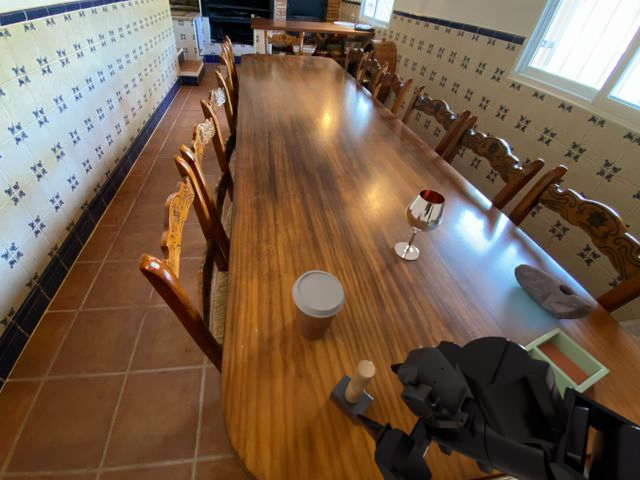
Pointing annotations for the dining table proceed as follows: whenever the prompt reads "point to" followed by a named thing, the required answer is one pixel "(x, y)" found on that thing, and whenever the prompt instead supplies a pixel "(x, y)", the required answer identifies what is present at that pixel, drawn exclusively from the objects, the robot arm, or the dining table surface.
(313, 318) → the disposable coffee cup
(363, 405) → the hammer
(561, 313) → the perforated stone tool
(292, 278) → the dining table surface
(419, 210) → the wineglass
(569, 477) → the robot arm
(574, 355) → the divided tray
